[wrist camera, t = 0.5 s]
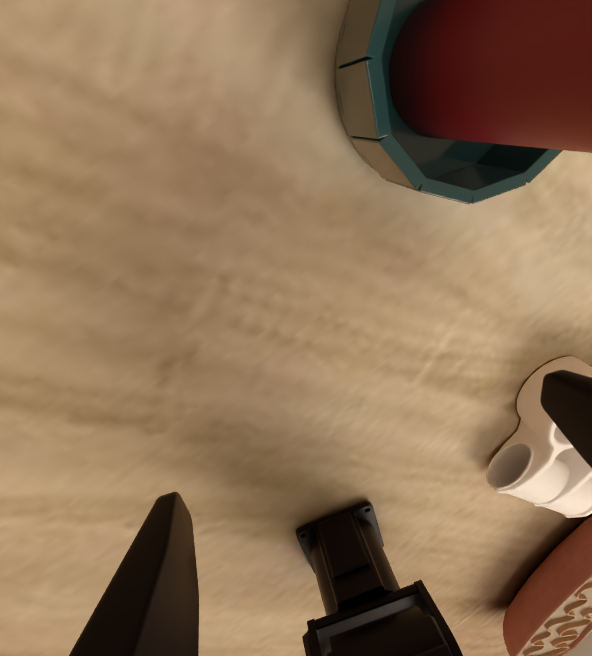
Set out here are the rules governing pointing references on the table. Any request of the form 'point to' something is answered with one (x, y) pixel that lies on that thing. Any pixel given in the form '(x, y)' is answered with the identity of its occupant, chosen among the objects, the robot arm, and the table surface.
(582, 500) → the knuckle duster
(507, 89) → the candle
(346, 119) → the shallow bowl
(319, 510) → the table surface
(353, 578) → the robot arm
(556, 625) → the brown patterned slab
